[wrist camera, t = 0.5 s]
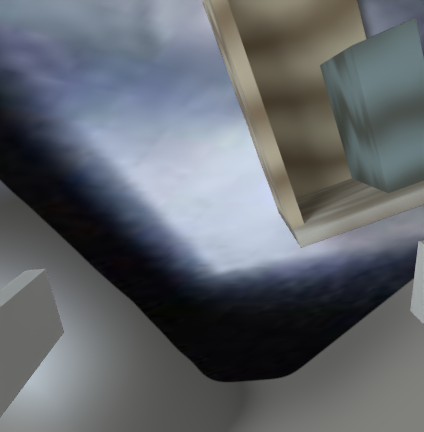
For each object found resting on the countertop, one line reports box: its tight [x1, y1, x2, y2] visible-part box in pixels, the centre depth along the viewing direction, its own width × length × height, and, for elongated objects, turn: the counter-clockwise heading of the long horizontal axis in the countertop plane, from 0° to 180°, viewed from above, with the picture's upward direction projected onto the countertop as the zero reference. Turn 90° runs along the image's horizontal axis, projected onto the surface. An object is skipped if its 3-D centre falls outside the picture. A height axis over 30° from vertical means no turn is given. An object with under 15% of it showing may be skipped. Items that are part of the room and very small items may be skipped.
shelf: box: [203, 0, 424, 248], centre depth 28 cm, size 24×14×11 cm, turn 22°
